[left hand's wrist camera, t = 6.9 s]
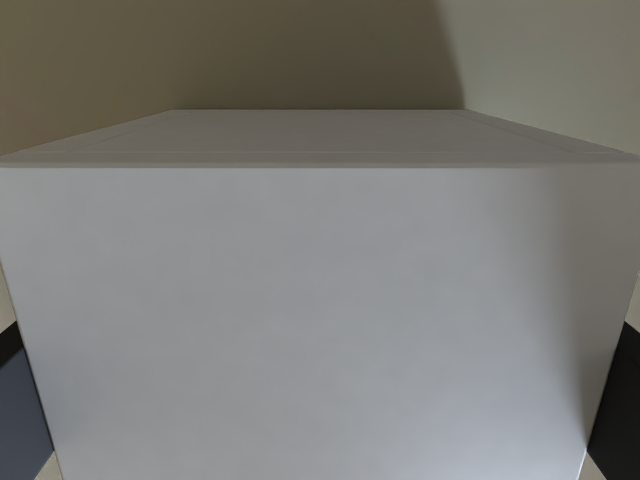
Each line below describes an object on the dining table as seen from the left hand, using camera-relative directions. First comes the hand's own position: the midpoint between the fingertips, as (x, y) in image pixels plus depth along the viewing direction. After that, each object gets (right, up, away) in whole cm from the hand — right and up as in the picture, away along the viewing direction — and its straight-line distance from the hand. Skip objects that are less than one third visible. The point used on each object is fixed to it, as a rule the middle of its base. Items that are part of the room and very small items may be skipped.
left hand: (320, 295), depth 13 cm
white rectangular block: (0, -3, +7) cm, 8 cm away
